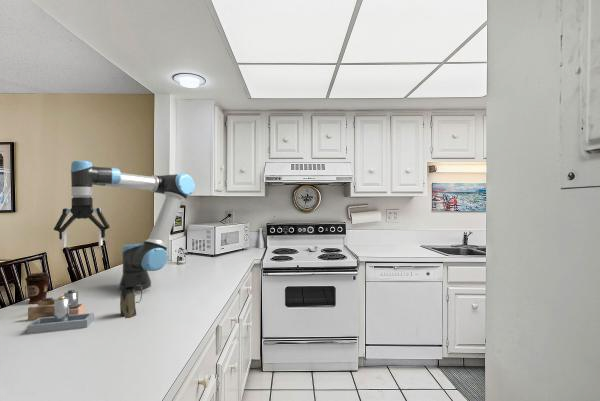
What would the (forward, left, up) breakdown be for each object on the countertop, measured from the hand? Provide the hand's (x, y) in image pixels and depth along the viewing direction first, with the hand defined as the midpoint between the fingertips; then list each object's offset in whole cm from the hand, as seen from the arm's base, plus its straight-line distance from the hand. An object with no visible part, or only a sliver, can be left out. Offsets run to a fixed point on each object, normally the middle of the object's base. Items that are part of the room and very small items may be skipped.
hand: (82, 246), depth 140 cm
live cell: (0, +22, -26) cm, 34 cm away
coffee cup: (+23, -17, -27) cm, 39 cm away
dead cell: (0, +14, -26) cm, 30 cm away
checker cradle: (+10, +7, -27) cm, 29 cm away
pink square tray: (0, +14, -27) cm, 30 cm away
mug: (-22, +16, -27) cm, 38 cm away
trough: (0, +23, -27) cm, 35 cm away
